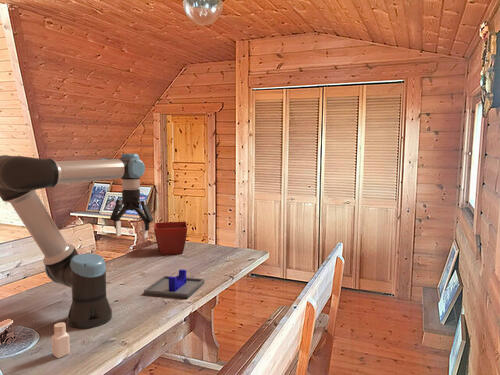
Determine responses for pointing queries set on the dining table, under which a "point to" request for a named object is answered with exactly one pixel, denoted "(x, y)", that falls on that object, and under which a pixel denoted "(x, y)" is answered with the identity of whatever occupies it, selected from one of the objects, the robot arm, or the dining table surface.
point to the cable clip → (177, 281)
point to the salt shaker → (60, 341)
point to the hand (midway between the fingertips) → (131, 236)
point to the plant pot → (170, 237)
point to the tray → (163, 290)
